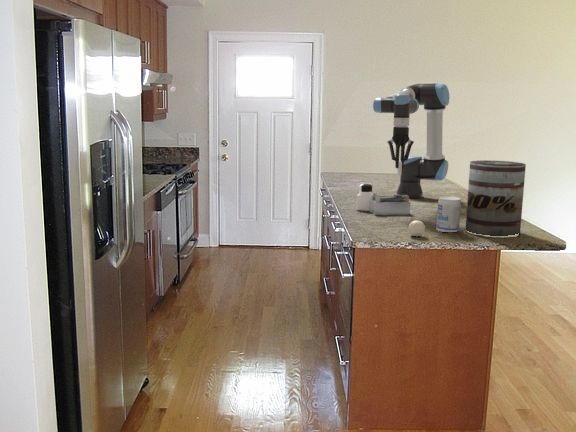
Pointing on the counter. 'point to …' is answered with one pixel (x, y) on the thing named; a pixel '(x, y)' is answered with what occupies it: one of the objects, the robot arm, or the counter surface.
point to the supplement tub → (448, 214)
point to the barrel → (495, 197)
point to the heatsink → (389, 206)
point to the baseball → (416, 228)
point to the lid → (392, 197)
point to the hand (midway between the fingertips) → (399, 174)
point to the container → (364, 197)
